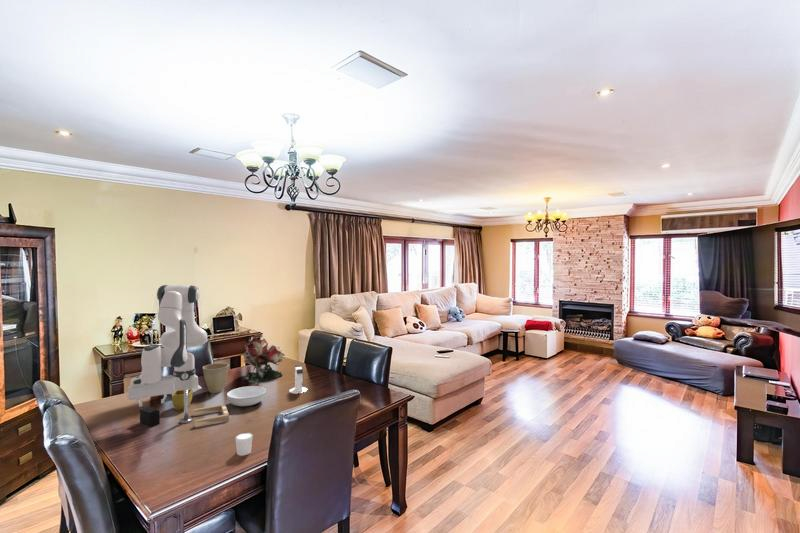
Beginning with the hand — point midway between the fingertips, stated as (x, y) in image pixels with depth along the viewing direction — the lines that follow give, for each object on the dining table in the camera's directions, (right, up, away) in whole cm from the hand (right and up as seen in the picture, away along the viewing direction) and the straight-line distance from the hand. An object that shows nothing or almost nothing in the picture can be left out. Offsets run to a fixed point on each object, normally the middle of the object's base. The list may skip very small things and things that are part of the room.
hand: (151, 404), depth 194 cm
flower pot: (+4, -9, +20) cm, 22 cm away
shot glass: (+59, -10, -29) cm, 66 cm away
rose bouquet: (+27, -8, +79) cm, 83 cm away
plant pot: (+10, -9, +48) cm, 49 cm away
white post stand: (+62, -9, +49) cm, 79 cm away
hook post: (+17, -9, +1) cm, 19 cm away
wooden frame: (+27, -9, +7) cm, 29 cm away
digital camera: (-1, -10, 0) cm, 10 cm away
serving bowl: (+37, -9, +27) cm, 47 cm away
